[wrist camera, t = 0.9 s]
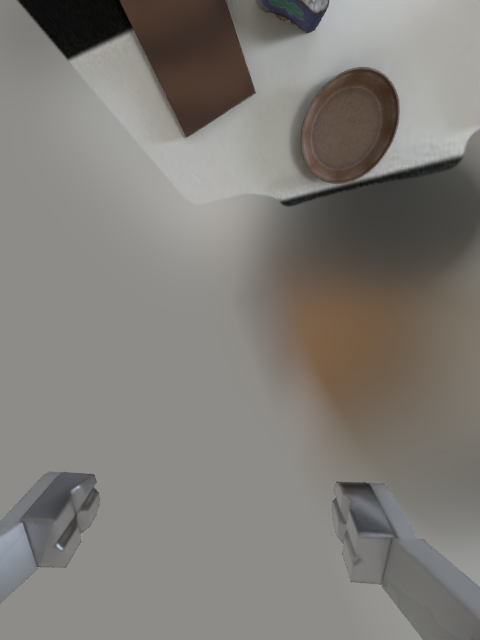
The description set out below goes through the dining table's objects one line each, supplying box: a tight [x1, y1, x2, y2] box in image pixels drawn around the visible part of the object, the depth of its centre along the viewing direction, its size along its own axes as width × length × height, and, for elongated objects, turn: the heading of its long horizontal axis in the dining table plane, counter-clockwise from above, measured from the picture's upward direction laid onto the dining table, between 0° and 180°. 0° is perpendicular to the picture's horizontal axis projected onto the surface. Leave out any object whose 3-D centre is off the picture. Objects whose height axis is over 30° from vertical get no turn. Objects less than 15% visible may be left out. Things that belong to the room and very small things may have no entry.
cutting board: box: [119, 0, 256, 137], centre depth 36 cm, size 20×13×2 cm, turn 26°
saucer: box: [301, 67, 400, 184], centre depth 41 cm, size 15×15×3 cm
